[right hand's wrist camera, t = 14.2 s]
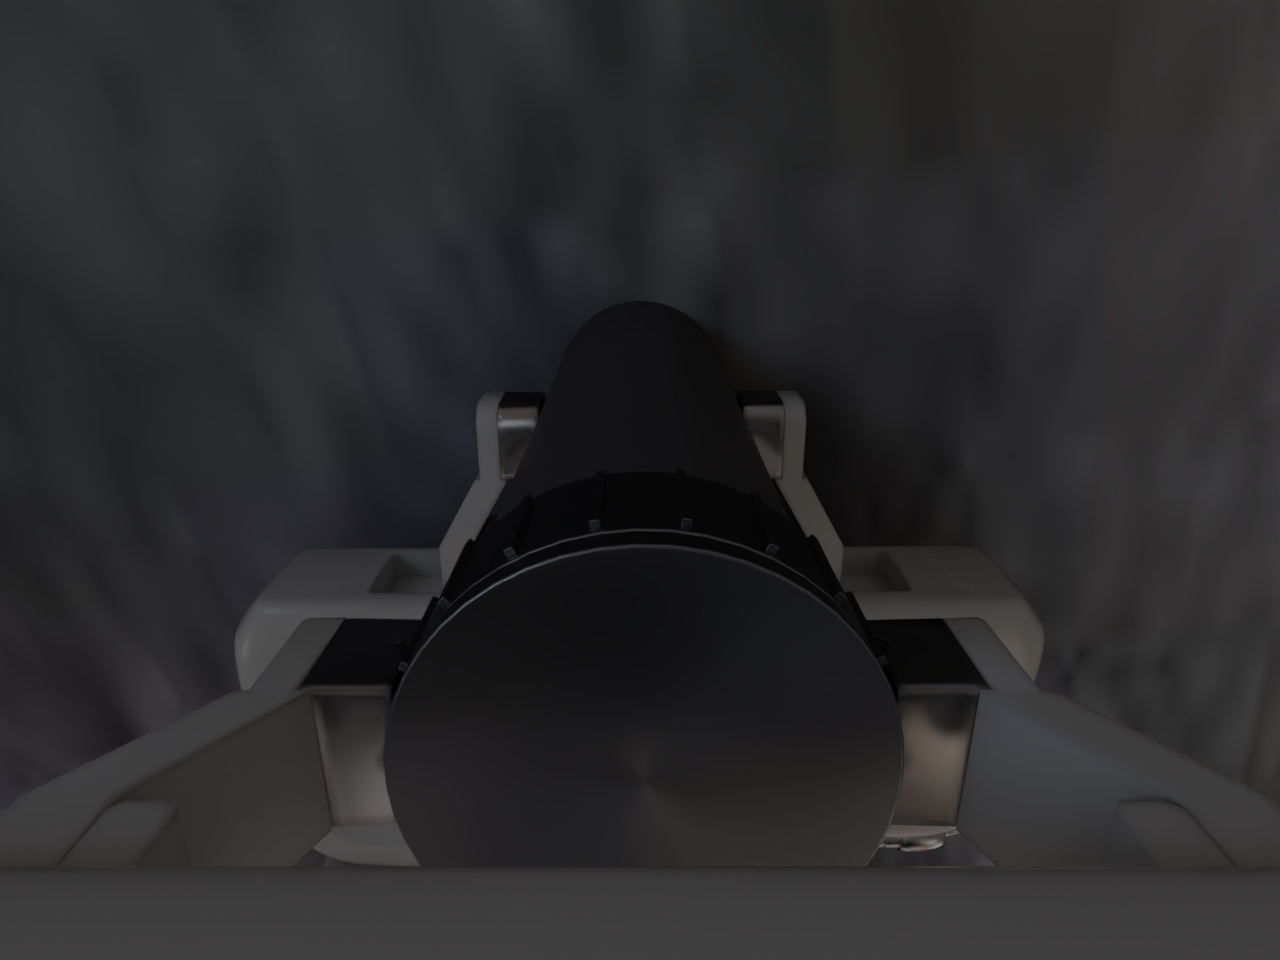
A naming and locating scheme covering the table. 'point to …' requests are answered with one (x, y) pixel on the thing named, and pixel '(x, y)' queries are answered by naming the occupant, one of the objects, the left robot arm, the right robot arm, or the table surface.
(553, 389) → the black cylinder
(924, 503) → the table surface
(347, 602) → the left robot arm
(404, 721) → the lid
